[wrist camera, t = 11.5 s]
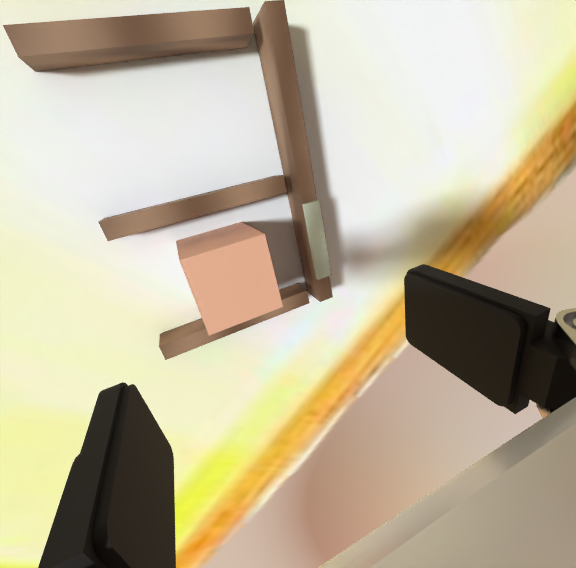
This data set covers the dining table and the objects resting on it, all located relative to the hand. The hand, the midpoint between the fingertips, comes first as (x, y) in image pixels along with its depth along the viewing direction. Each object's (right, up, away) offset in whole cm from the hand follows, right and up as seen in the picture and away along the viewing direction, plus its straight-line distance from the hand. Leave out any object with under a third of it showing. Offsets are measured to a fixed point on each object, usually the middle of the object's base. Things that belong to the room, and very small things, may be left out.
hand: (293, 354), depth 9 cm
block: (-6, +4, +13) cm, 15 cm away
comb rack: (-7, +8, +11) cm, 15 cm away
